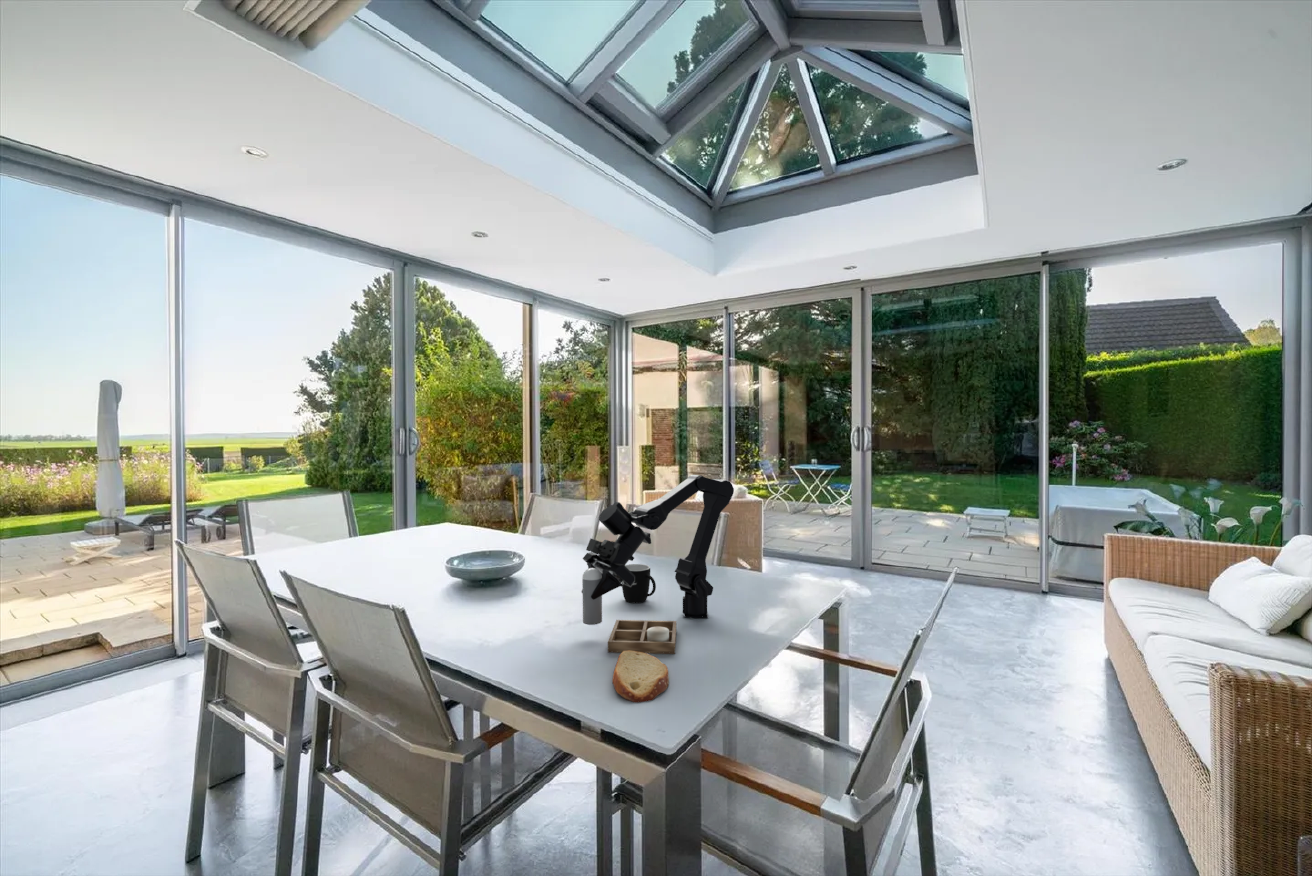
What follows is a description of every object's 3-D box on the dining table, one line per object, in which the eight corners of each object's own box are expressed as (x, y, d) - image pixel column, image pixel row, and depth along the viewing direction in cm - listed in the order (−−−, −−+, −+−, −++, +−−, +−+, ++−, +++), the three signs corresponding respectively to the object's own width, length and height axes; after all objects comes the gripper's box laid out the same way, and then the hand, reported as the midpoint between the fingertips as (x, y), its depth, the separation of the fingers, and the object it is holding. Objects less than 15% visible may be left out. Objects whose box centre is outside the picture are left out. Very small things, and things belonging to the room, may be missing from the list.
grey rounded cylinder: (603, 618, 144) (602, 565, 144) (600, 624, 139) (599, 570, 139) (584, 618, 144) (584, 565, 144) (581, 624, 140) (580, 570, 139)
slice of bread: (631, 656, 131) (631, 639, 131) (695, 676, 120) (695, 659, 120) (574, 682, 117) (574, 664, 117) (640, 708, 106) (640, 688, 106)
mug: (614, 601, 173) (614, 568, 173) (633, 594, 180) (633, 562, 180) (645, 608, 165) (645, 573, 165) (664, 601, 173) (664, 568, 172)
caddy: (676, 630, 147) (676, 615, 147) (674, 654, 131) (674, 636, 131) (616, 629, 148) (616, 614, 148) (607, 652, 132) (607, 635, 132)
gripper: (589, 521, 152) (550, 569, 146) (623, 532, 136) (582, 585, 130) (615, 547, 156) (579, 594, 150) (651, 560, 140) (613, 613, 134)
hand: (587, 596), depth 141 cm, fingers closed on grey rounded cylinder, 5 cm apart
